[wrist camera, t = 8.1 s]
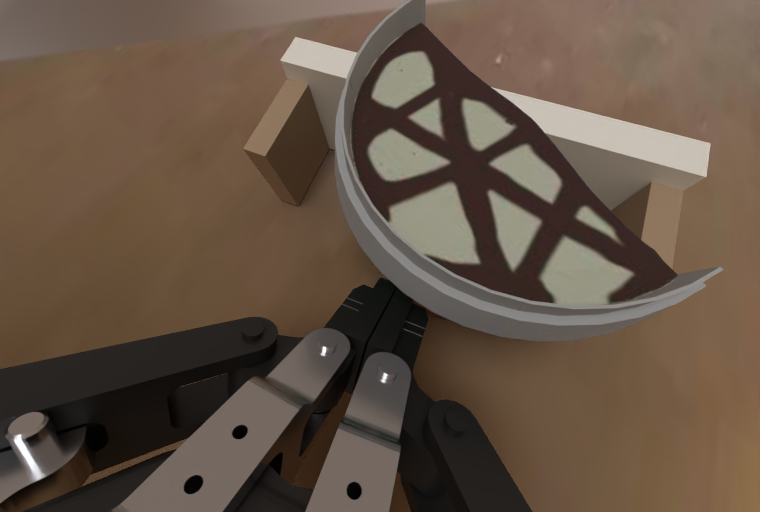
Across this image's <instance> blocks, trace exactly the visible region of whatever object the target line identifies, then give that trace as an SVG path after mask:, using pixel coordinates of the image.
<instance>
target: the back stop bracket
mask: <svg viewBox="0 0 760 512" xmlns="http://www.w3.org/2000/svg"><path fill="white" fill-rule="evenodd" d="M356 54H357V53H356V52H352V51H348V50H344V49H340V48H336V47H332V46H328V45H324V44H320V43H317V42H313V41H309V40H305V39H301V38H297V37H295V39H294V40H293V42H292V43H291V45H290V46H289V48H288V50H287V51H286V53H285V54H284V56H283V57H282V59H281V60H280V61H281V63H282V66H283V68H284V71H285V73H286V76H287V80H286V81H285V83H284V85H283V86H282V88H281V89H280V91H279V93H278V94H277V96H276V97H275V99H274V101H273V102H272V104H271V105H270V107H269V108H268V110H267V112H266V113H265V115H264V116H263V118H262V120H261V121H260V123H259V124H258V126H257V128H256V129H255V131H254V132H253V134H252V135H251V137H250V139H249V140H248V142H247V143H246V145H245V147H244V148H243V149H244V151H245V152H246V153H247V155H248V156H249V157H250V159H251V160H252V161H253V163H254V164H255V166H256V167H257V168H258V170H259V171H260V172H261V174H262V175H263V176H264V178H265V179H266V180H267V182H268V183H269V184H270V186H271V187H272V188H273V190H274V191H275V192H276V194H277V195H278V197H279V198H280V199H281V200H282V201H284V202H287V203H290V204H293V205H296V206H299V204H300V203H301V201H302V199H303V197H304V195H305V193H306V191H307V189H308V188H309V186H310V184H311V182H312V180H313V178H314V176H315V175H316V173H317V171H318V169H319V167H320V165H321V163H322V162H323V160H324V158H325V156H326V154H327V152H328V150H329V148H330V149H333V150H335V129H336V115H337V111H338V107H339V102H340V98H341V94H342V91H343V89H344V87H345V82H346V78H347V75H348V73H349V70H350V68H351V66H352V63H353V61H354V59H355V56H356ZM491 88H492V87H491ZM493 89H494V90H496V91H497V92H498V93H500V94H501V95H503V96H504V97H505V98H507V99H508V100H510V101H511V102H512V103H513V104H515V105H516V106H517V107H518V108H520V109H521V110H522V111H523V112H524V113H526V114H527V115H528V116H530V117H531V118H532V119H533V120H534V121H535V122H536V123H537V124H538V125H539V127H540V128H541V129H542V130H543V131H544V133H545V134H546V135H547V136H548V137H549V138H550V140H551V141H552V142H553V143H554V144H555V145H556V147H557V148H558V149H559V151H560V152H561V153H562V154H563V156H564V157H565V158H566V159H567V161H568V162H569V163H570V165H571V166H572V167H573V168H574V170H575V171H576V172H577V173H578V175H579V176H580V177H581V178H582V180H583V181H584V182H585V184H586V185H587V186H588V187H589V188H590V189H591V191H592V192H593V193H594V194H595V195H596V196H597V197H598V198H599V199H600V200H601V201H602V202H603V203H604V204H605V205H606V206H607V207H608V209H609V210H610V211H611V212H612V213H613V214H614V215H615V216H616V217H617V218H618V219H619V220H620V221H621V222H622V223H623V224H624V225H625V226H626V227H627V228H628V229H629V230H630V231H632V232H633V233H634V234H635V235H636V236H637V237H638V238H640V239H641V240H642V241H643V242H644V243H646V244H647V245H649V246H650V247H651V248H653V249H654V250H655V251H656V252H657V253H658V254H659V256H660V257H661V258H662V260H663V261H664V262H665V263H666V264H667V265H668V266H669V267H670V268H671V269H672V266H673V259H674V252H675V245H676V239H677V232H678V225H679V218H680V211H681V205H682V198H683V191H684V190H686V189H687V188H689V187H691V186H692V185H694V184H696V183H697V182H699V181H701V180H702V179H704V178H706V176H707V168H708V160H709V152H710V144H711V143H707V142H703V141H699V140H695V139H691V138H687V137H683V136H679V135H676V134H672V133H668V132H664V131H660V130H656V129H652V128H648V127H644V126H640V125H637V124H633V123H629V122H625V121H621V120H617V119H613V118H609V117H605V116H601V115H598V114H594V113H590V112H586V111H582V110H578V109H574V108H570V107H566V106H562V105H559V104H555V103H551V102H547V101H543V100H539V99H535V98H531V97H527V96H523V95H519V94H516V93H512V92H508V91H504V90H500V89H496V88H493Z"/></svg>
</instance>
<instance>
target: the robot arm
mask: <svg viewBox="0 0 760 512" xmlns="http://www.w3.org/2000/svg"><path fill="white" fill-rule="evenodd" d="M413 301H414V299H412V298H411V297H409V296H407V295H406V294H404V293H403V292H402V291H401V290H400V289H399V288H397V286H395V285H394V284H393V283H392V282H391V281H388V280H386V279H383V278H380V279H379V280H378V282H377V283H376V285H375V286H374V288H371V287H368V286H366V285H362V286H359V287H357V288H355V289H353V291H352V292H351V293H350V294H349V296H348V297H347V299H346V300H345V301H344V302H343V304H342V305H341V306H340V307H339V309H338V310H337V311H336V313H335V314H334V315H333V316H332V318H331V319H330V320H329V322H328V323H327V324H326V326H325V327H324V328H320V329H316V330H314V331H312V332H310V333H309V334H308V335H307V336H306V337H304V338H297V337H289V336H282V335H278V330H277V327H276V326H275V324H274V323H273V322H271V321H270V320H268V319H265V318H261V317H248V318H243V319H238V320H234V321H229V322H224V323H219V324H214V325H210V326H205V327H200V328H195V329H191V330H186V331H181V332H176V333H172V334H167V335H162V336H157V337H152V338H148V339H143V340H138V341H133V342H129V343H124V344H119V345H114V346H109V347H105V348H100V349H95V350H90V351H86V352H81V353H76V354H71V355H66V356H62V357H57V358H52V359H47V360H43V361H38V362H33V363H28V364H23V365H19V366H14V367H9V368H4V369H0V512H389V509H390V504H391V499H392V493H393V488H394V483H395V477H396V472H397V470H398V471H399V472H400V473H401V482H402V486H403V489H404V491H405V494H406V497H407V500H408V503H409V506H410V509H411V512H532V510H531V509H530V507H529V506H528V504H527V502H526V501H525V499H524V497H523V496H522V494H521V492H520V491H519V489H518V487H517V486H516V484H515V482H514V481H513V479H512V478H511V476H510V474H509V473H508V471H507V469H506V468H505V466H504V464H503V463H502V461H501V459H500V458H499V456H498V454H497V453H496V451H495V450H494V448H493V446H492V445H491V443H490V441H489V440H488V438H487V436H486V435H485V433H484V431H483V430H482V428H481V426H480V425H479V423H478V421H477V420H476V418H475V417H474V415H473V414H472V413H471V412H470V411H469V410H468V409H467V408H465V407H464V406H463V405H461V404H459V403H457V402H454V401H451V400H441V401H438V402H435V401H433V400H432V399H431V398H430V397H428V396H427V395H426V394H425V393H424V392H423V391H422V390H421V389H420V388H419V387H418V385H417V383H416V381H415V379H414V376H413V367H414V363H415V360H416V357H417V354H418V350H419V347H420V344H421V341H422V337H423V334H424V331H425V328H426V324H427V321H428V316H427V313H426V309H425V308H423V307H420V306H418V305H415V304H413ZM224 373H227V374H224ZM221 374H223V375H221ZM217 375H220V376H217ZM214 376H217V377H214ZM211 377H213V378H211ZM207 378H210V379H207ZM204 379H207V380H204ZM200 380H203V381H200ZM197 381H200V382H197ZM194 382H196V383H194ZM190 383H193V384H190ZM187 384H190V385H187ZM183 385H186V386H183ZM181 386H183V387H181ZM355 386H356V387H355ZM354 388H355V390H354ZM353 390H354V393H353V395H352V398H351V401H350V403H349V406H348V408H347V411H346V413H345V416H344V418H343V420H342V421H341V423H340V425H339V427H338V430H337V432H336V435H335V437H334V440H333V442H332V445H331V447H330V450H329V453H328V455H327V458H326V460H325V463H324V465H323V468H322V470H321V473H320V475H319V478H318V481H317V483H316V486H315V488H314V490H312V489H306V488H301V487H295V486H291V485H292V483H293V481H294V478H295V476H296V473H297V471H298V469H299V467H300V465H301V463H302V462H303V460H304V458H305V457H306V455H307V454H308V452H309V450H310V449H311V447H312V446H313V444H314V442H315V441H316V439H317V438H318V436H319V435H320V433H321V431H322V430H323V428H324V427H325V425H326V423H327V422H328V420H329V419H330V417H331V415H332V414H333V412H334V410H335V407H336V405H337V403H338V402H339V400H340V398H341V396H342V394H343V392H344V391H346V392H348V393H350V394H352V392H353ZM186 438H188V439H187V440H186V441H185V442H184V443H183V444H182V445H181V446H180V447H179V448H178V449H175V450H172V451H169V452H165V453H162V454H160V455H157V456H155V457H152V458H150V459H147V460H145V461H143V462H140V463H138V464H135V465H133V466H131V467H128V468H126V469H123V470H121V471H119V472H116V473H114V474H111V475H109V476H107V477H104V478H102V479H99V480H97V481H95V482H92V483H90V484H87V485H85V486H83V487H81V486H82V485H83V484H84V483H85V481H86V480H87V479H88V477H89V476H90V475H91V474H94V473H96V472H99V471H102V470H104V469H107V468H110V467H112V466H115V465H117V464H120V463H123V462H125V461H128V460H131V459H133V458H136V457H139V456H141V455H144V454H147V453H149V452H152V451H155V450H157V449H160V448H162V447H165V446H168V445H170V444H173V443H176V442H178V441H181V440H184V439H186Z"/></svg>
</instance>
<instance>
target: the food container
mask: <svg viewBox="0 0 760 512" xmlns="http://www.w3.org/2000/svg"><path fill="white" fill-rule="evenodd" d="M335 178H336V185H337V191H338V198H339V200H340V203H341V206H342V209H343V212H344V215H345V218H346V221H347V223H348V225H349V227H350V229H351V231H352V232H353V234H354V236H355V238H356V240H357V241H358V243H359V245H360V247H361V248H362V250H363V251H364V252H365V253H366V255H367V256H368V257H369V258H370V260H371V261H372V262H373V263H374V265H375V266H376V267H377V268H378V270H379V271H380V272H381V273H382V274H383V275H384V276H386V277H387V278H388V279H389V280H390V281H391V282H392V283H393V284H394V285H395V286H397V287H398V288H399V289H400V290H401V291H402V292H403V293H404V294H406V295H407V296H409V297H411V298H412V299H414V301H413V304H415V305H418V306H420V307H423V308H425V309H426V312H427V313H429V314H432V315H434V316H436V317H438V318H442V319H445V320H449V321H453V322H456V323H458V324H460V325H462V326H464V327H468V328H471V329H475V330H478V331H482V332H485V333H489V334H492V335H496V336H499V337H506V338H514V339H522V340H529V341H572V340H579V339H584V338H589V337H594V336H600V335H605V334H610V333H612V332H615V331H618V330H620V329H623V328H626V327H628V326H631V325H633V324H636V323H639V322H641V321H644V320H646V319H648V318H650V317H652V316H653V315H655V314H657V313H659V312H661V311H663V310H665V309H667V308H669V307H671V306H673V305H675V304H677V303H679V302H680V301H682V300H684V299H685V298H687V297H689V296H691V295H692V294H694V293H696V292H697V291H699V290H701V289H702V288H704V287H706V285H705V284H704V283H703V282H704V281H705V280H707V279H709V278H711V277H712V276H714V275H716V274H717V273H719V272H721V271H722V270H724V269H723V268H721V267H716V268H710V269H705V270H699V271H694V272H688V273H683V274H676V273H675V272H674V271H673V270H672V269H671V268H670V267H669V266H668V265H667V264H666V263H665V262H664V261H663V260H662V258H661V257H660V256H659V254H658V253H657V252H656V251H655V250H654V249H653V248H651V247H650V246H649V245H647V244H646V243H644V242H643V241H642V240H641V239H640V238H638V237H637V236H636V235H635V234H634V233H633V232H632V231H630V230H629V229H628V228H627V227H626V226H625V225H624V224H623V223H622V222H621V221H620V220H619V219H618V218H617V217H616V216H615V215H614V214H613V213H612V212H611V211H610V210H609V209H608V207H607V206H606V205H605V204H604V203H603V202H602V201H601V200H600V199H599V198H598V197H597V196H596V195H595V194H594V193H593V192H592V191H591V189H590V188H589V187H588V186H587V185H586V184H585V182H584V181H583V180H582V178H581V177H580V176H579V175H578V173H577V172H576V171H575V170H574V168H573V167H572V166H571V165H570V163H569V162H568V161H567V159H566V158H565V157H564V156H563V154H562V153H561V152H560V151H559V149H558V148H557V147H556V145H555V144H554V143H553V142H552V141H551V140H550V138H549V137H548V136H547V135H546V134H545V133H544V131H543V130H542V129H541V128H540V127H539V125H538V124H537V123H536V122H535V121H534V120H533V119H532V118H531V117H530V116H528V115H527V114H526V113H524V112H523V111H522V110H521V109H520V108H518V107H517V106H516V105H515V104H513V103H512V102H511V101H510V100H508V99H507V98H505V97H504V96H503V95H501V94H500V93H498V92H497V91H496V90H494V89H493V88H491V87H490V86H489V85H487V84H486V83H484V82H483V81H482V80H481V79H480V78H478V77H477V76H476V75H475V74H473V73H472V72H471V71H470V70H469V69H468V68H467V67H466V66H465V65H463V64H462V63H461V62H460V61H459V60H458V59H457V58H456V57H455V56H454V55H453V54H452V53H451V52H450V51H449V50H448V49H447V48H446V47H445V46H444V45H443V44H442V43H441V42H440V41H439V40H438V39H437V38H436V37H435V36H434V35H433V34H432V33H431V32H430V30H429V29H428V28H427V27H426V26H425V0H407V1H405V2H404V3H403V4H401V5H400V6H399V7H398V8H396V9H395V10H394V11H393V12H392V13H390V14H389V15H388V16H387V17H385V18H384V19H383V21H382V22H381V23H380V24H379V25H378V26H377V27H376V28H375V29H374V30H373V31H372V33H371V34H370V35H369V36H368V38H367V39H366V41H365V42H364V44H363V45H362V47H361V48H360V50H359V51H358V53H357V54H356V56H355V59H354V61H353V63H352V66H351V68H350V70H349V73H348V75H347V78H346V82H345V87H344V89H343V91H342V94H341V98H340V102H339V107H338V111H337V115H336V129H335Z"/></svg>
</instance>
